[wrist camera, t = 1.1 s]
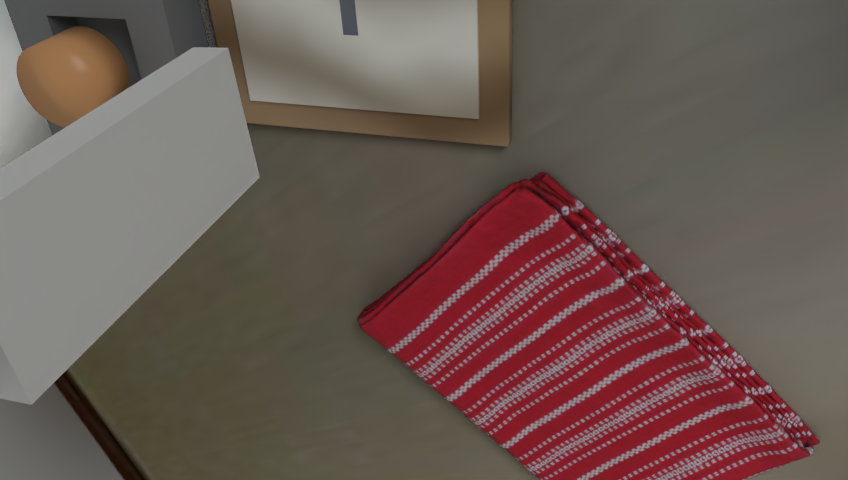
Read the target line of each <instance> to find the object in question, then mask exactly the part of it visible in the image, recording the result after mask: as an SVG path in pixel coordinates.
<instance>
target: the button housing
mask: <svg viewBox="0 0 848 480" xmlns="http://www.w3.org/2000/svg"><path fill="white" fill-rule="evenodd" d="M5 3H6V6H7V9H8V12H9V14H10V17H11V20H12V23H13V26H14V28H15V31H16V34H17V37H18V40H19V42H20V45H21V48H22V51H24V50H25V49H27V48H29V47H31V46H33V45H35V44H37V43H39V42H41V41H43V40H45V39H48V38H50V37H52V36H54V35H56V34H58V33H60V32H62V31H64V30H66V29H69V28H71V27H75V26H84V27H88V28H91V29H94V30H96V31H98V32H100V33H101V34H103V35H104V36H105V37H107V38H108V39H109V40H110V41H111V42H112V43H113V44H114V45H115V46H116V48H117V49H118V50H119V52H120V53H121V55H122V57H123V59H124V61H125V63H126V66H127V69H128V73H129V87H131V86H132V85H134V84H136V83H137V82H139V81H140V80H142V79H144V78H145V77H147V76H148V75H150V74H152V73H153V72H155V71H156V70H158V69H159V68H161V67H163V66H164V65H166V64H167V63H169V62H171V61H172V60H174V59H175V58H177V57H179V56H180V55H182V54H183V53H185V52H187V51H188V50H190V49H191V48H193V47H208V42H207V37H206V33H205V28H204V24H203V19H202V15H201V10H200V5H199V1H198V0H5ZM47 121H48V120H47ZM48 124H49V126H50V129H51V132H52V135H54V134H56V133H57V132H59V131H61V130H62V129H64V128H65V127H61V126H58V125H56V124H54V123H52V122H50V121H48Z"/></svg>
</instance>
